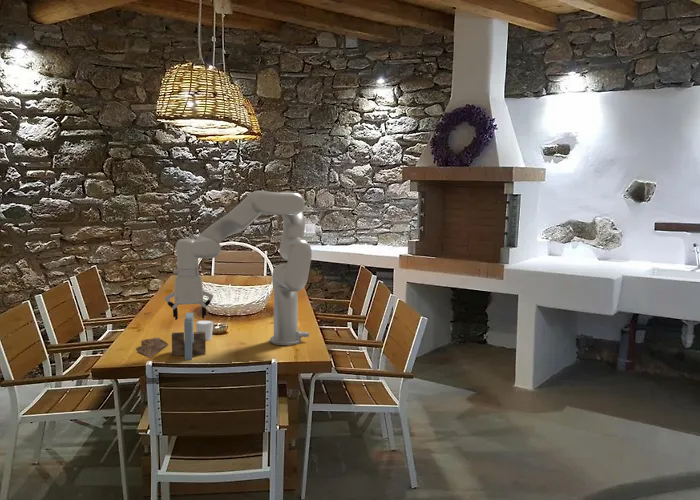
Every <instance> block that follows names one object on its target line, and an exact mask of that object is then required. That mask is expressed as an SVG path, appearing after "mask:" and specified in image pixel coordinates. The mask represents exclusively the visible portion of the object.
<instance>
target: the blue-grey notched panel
mask: <svg viewBox="0 0 700 500" xmlns="http://www.w3.org/2000/svg"><path fill="white" fill-rule="evenodd" d="M183 323H184V324H183V325H184V328H183V329H184V343H185V355H184V361H190V360H193V355H192V343H193V342H194V312H186V314H185V318H184V322H183Z"/></svg>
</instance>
